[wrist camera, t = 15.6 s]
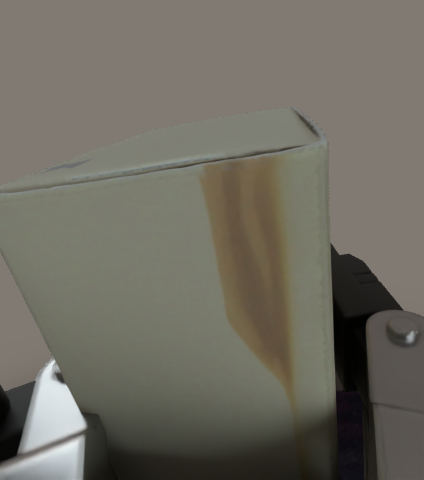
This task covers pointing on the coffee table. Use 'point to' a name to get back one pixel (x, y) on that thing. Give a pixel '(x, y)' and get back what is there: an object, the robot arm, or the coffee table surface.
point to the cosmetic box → (190, 295)
